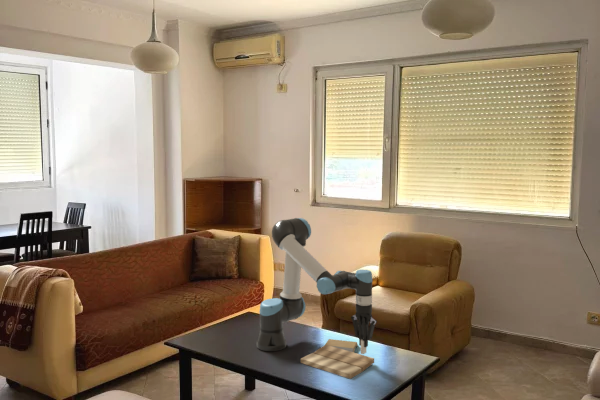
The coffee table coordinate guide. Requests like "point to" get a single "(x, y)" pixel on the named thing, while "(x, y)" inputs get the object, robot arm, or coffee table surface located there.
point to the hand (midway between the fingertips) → (363, 353)
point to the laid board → (331, 365)
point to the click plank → (345, 356)
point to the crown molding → (342, 344)
